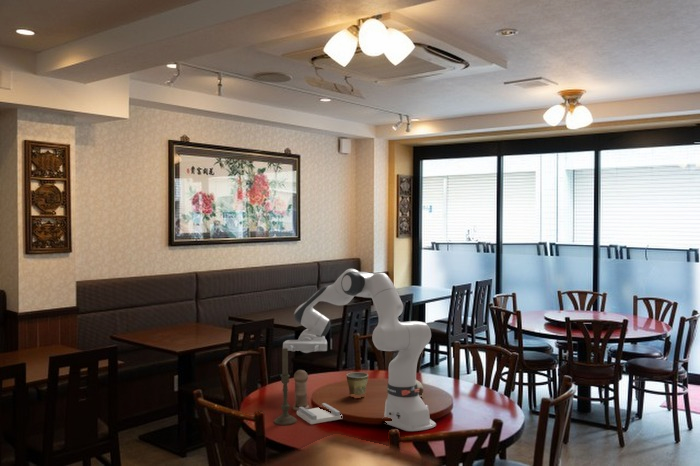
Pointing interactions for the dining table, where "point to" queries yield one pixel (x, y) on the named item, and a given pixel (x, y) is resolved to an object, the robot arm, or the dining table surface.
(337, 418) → the tray
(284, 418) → the candlestick holder
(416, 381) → the skull
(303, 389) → the tan wooden upright piece
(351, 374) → the ceramic cup
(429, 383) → the dining table surface
